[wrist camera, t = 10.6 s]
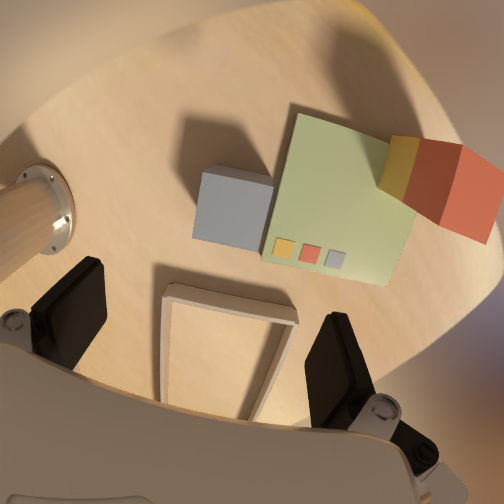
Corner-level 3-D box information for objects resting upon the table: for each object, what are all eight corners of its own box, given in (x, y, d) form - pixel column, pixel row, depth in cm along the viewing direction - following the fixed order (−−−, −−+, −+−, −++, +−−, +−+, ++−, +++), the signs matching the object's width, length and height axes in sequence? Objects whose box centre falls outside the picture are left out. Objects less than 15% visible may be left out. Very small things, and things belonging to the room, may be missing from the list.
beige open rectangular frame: (165, 415, 47) (161, 427, 44) (169, 281, 34) (162, 294, 31) (245, 431, 48) (244, 443, 45) (297, 307, 35) (300, 322, 32)
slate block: (204, 217, 30) (192, 238, 25) (214, 164, 28) (202, 172, 22) (258, 229, 31) (257, 252, 25) (271, 176, 28) (274, 187, 23)
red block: (402, 202, 22) (438, 225, 16) (420, 138, 19) (462, 144, 14) (448, 220, 22) (485, 244, 16) (465, 162, 20) (507, 176, 14)
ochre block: (377, 187, 27) (402, 202, 22) (391, 134, 25) (420, 138, 19) (419, 203, 27) (448, 220, 22) (434, 154, 25) (466, 162, 20)
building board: (260, 256, 32) (260, 261, 31) (296, 113, 25) (298, 112, 24) (383, 281, 33) (386, 287, 32) (426, 161, 26) (432, 162, 25)
